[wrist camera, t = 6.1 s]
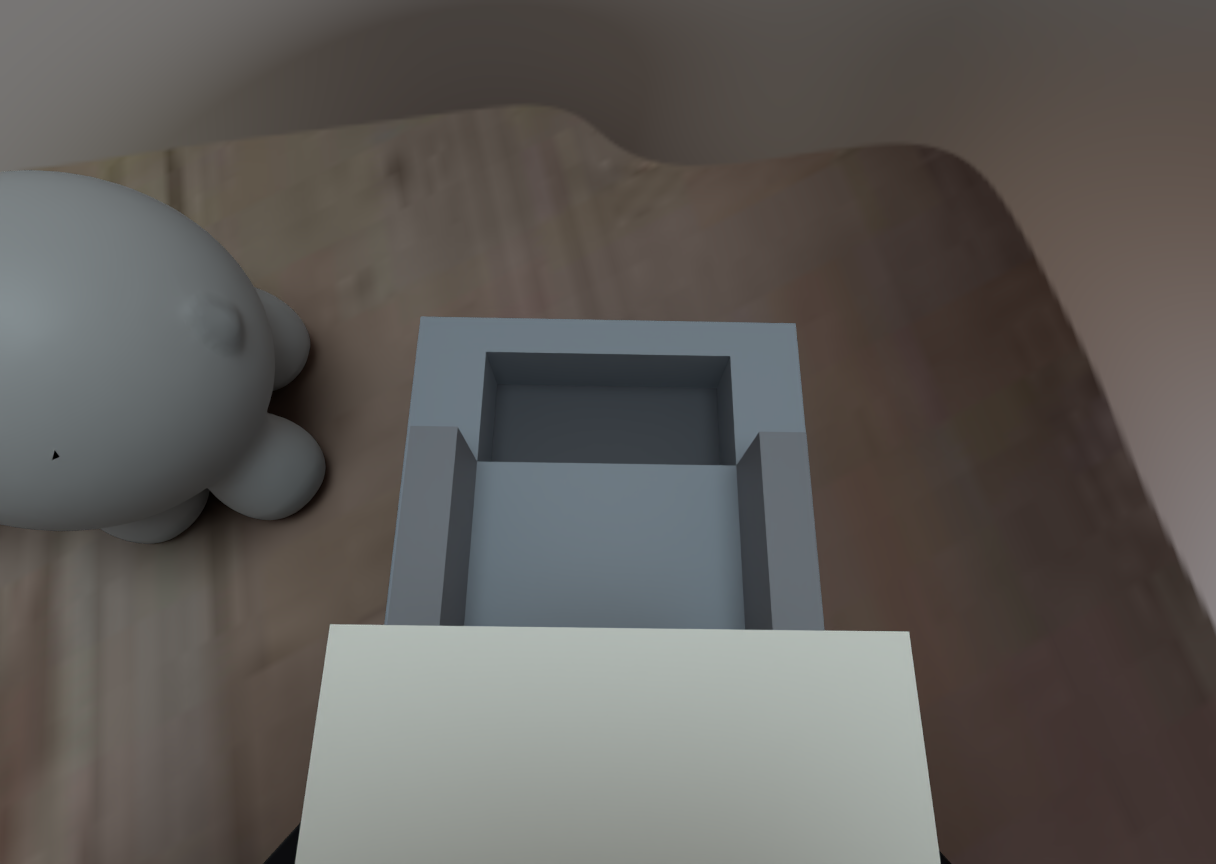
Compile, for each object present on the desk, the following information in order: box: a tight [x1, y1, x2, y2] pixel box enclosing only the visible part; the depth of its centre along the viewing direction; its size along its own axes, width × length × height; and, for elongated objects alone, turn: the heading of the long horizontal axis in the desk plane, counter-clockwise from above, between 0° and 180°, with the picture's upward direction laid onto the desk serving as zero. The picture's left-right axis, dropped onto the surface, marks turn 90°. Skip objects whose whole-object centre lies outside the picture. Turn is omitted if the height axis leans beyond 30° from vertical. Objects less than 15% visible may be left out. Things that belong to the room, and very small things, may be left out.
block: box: [295, 624, 941, 864], centre depth 9 cm, size 4×4×10 cm
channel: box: [384, 317, 824, 631], centre depth 14 cm, size 22×10×5 cm, turn 179°
